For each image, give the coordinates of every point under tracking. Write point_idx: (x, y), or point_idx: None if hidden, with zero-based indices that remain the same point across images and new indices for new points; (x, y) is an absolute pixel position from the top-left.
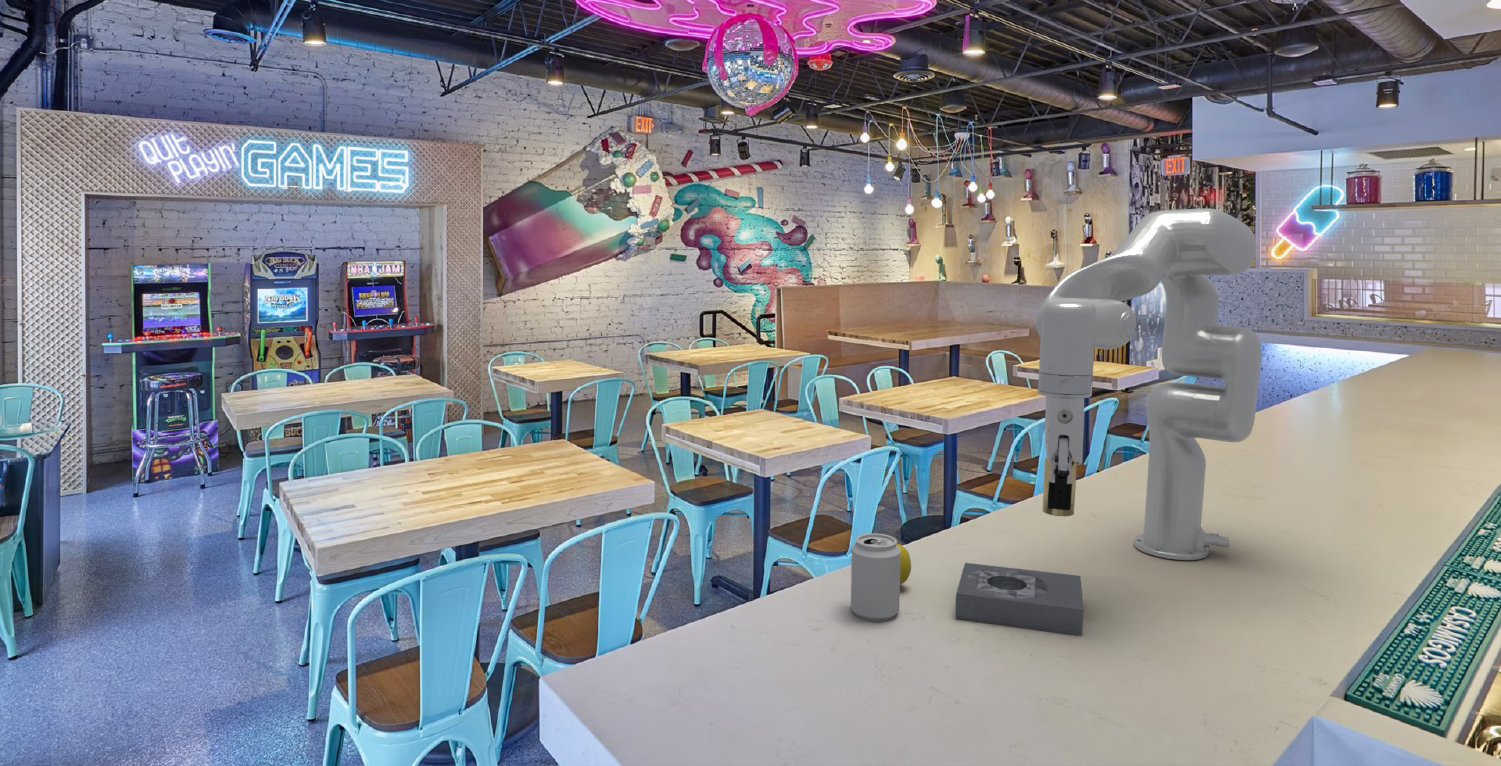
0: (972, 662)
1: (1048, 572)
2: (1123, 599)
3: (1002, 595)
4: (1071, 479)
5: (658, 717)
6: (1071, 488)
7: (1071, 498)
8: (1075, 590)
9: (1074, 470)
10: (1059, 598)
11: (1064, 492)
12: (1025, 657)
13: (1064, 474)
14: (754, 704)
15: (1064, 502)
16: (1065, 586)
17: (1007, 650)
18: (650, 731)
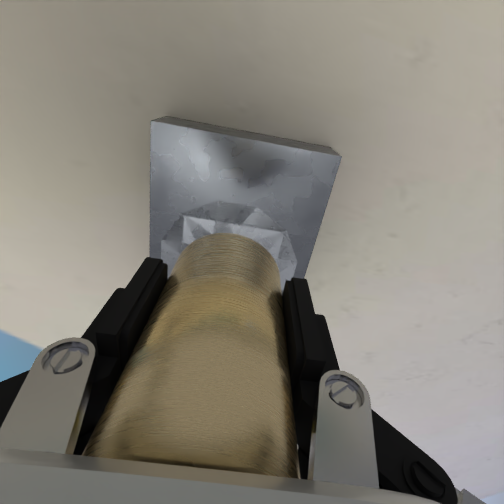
0: (410, 301)
1: (152, 186)
2: (134, 6)
3: (286, 279)
4: (279, 369)
5: (472, 479)
6: (321, 343)
7: (271, 290)
8: (242, 151)
9: (265, 409)
10: (288, 191)
11: (333, 356)
12: (401, 242)
13: (457, 493)
14: (466, 443)
15: (324, 320)
16: (223, 167)
17: (379, 261)
18: (490, 480)
